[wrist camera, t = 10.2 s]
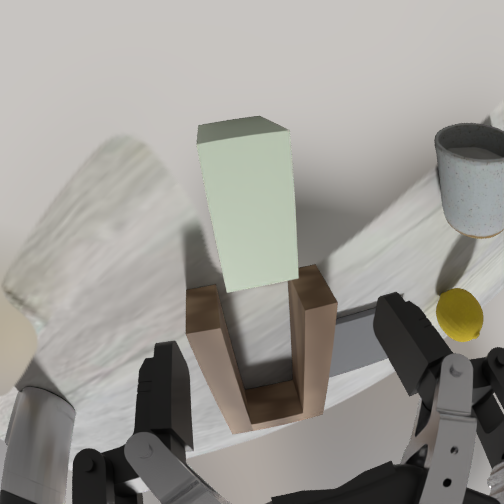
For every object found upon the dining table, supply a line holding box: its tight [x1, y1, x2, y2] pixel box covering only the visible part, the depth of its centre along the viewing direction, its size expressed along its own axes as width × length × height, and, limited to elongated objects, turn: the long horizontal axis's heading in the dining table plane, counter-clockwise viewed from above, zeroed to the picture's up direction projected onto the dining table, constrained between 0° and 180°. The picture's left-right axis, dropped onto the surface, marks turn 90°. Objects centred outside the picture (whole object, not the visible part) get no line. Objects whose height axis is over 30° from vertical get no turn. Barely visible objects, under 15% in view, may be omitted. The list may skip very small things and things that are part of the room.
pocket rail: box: [186, 264, 338, 434], centre depth 27 cm, size 11×19×5 cm, turn 7°
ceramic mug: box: [435, 123, 504, 239], centre depth 18 cm, size 11×8×8 cm
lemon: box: [436, 288, 483, 342], centre depth 27 cm, size 6×6×8 cm
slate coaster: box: [329, 308, 388, 377], centre depth 31 cm, size 10×10×1 cm
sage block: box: [197, 116, 299, 293], centre depth 17 cm, size 4×8×7 cm, turn 7°
